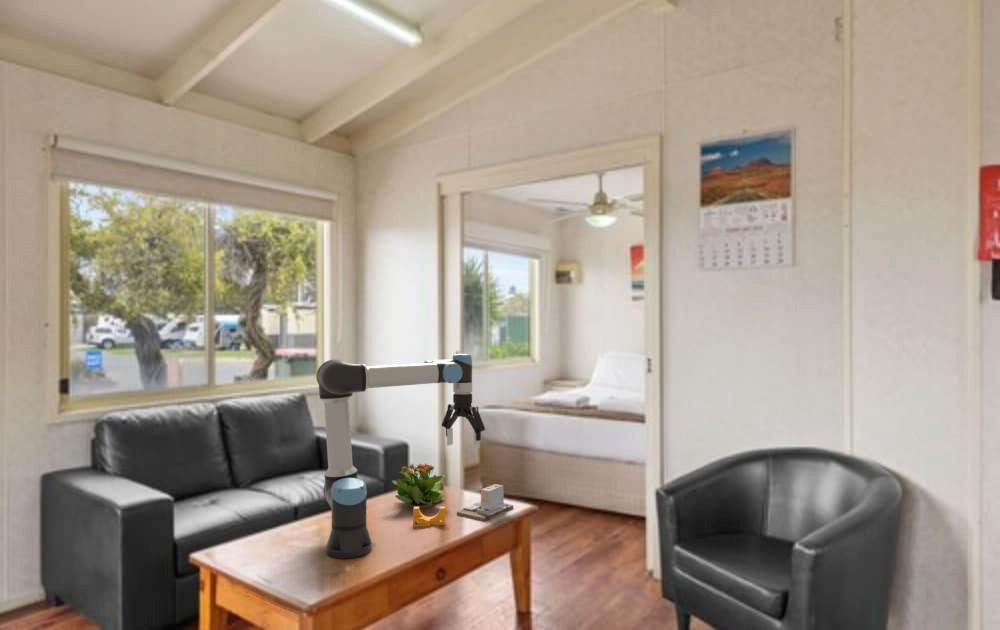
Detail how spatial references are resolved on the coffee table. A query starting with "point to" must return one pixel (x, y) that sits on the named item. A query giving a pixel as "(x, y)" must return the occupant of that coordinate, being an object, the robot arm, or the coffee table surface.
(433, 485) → the potted flower
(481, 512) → the leaf seat
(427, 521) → the pipe clamp
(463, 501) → the coffee table surface
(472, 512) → the hinge board
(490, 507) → the leaf block
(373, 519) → the coffee table surface
